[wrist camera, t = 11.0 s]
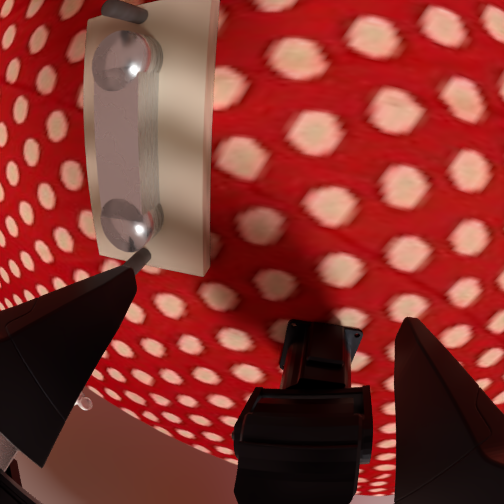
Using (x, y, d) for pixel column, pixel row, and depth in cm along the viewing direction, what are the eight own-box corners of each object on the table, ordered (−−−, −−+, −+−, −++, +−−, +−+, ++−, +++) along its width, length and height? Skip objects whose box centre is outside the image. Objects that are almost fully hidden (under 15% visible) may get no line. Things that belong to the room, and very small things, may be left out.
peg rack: (210, 266, 24) (185, 304, 20) (109, 247, 25) (75, 275, 21) (220, -1, 14) (188, -26, 10) (99, 21, 16) (55, 15, 11)
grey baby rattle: (165, 241, 22) (149, 256, 20) (122, 233, 22) (105, 247, 20) (165, 31, 14) (145, 25, 12) (115, 40, 15) (93, 37, 13)
